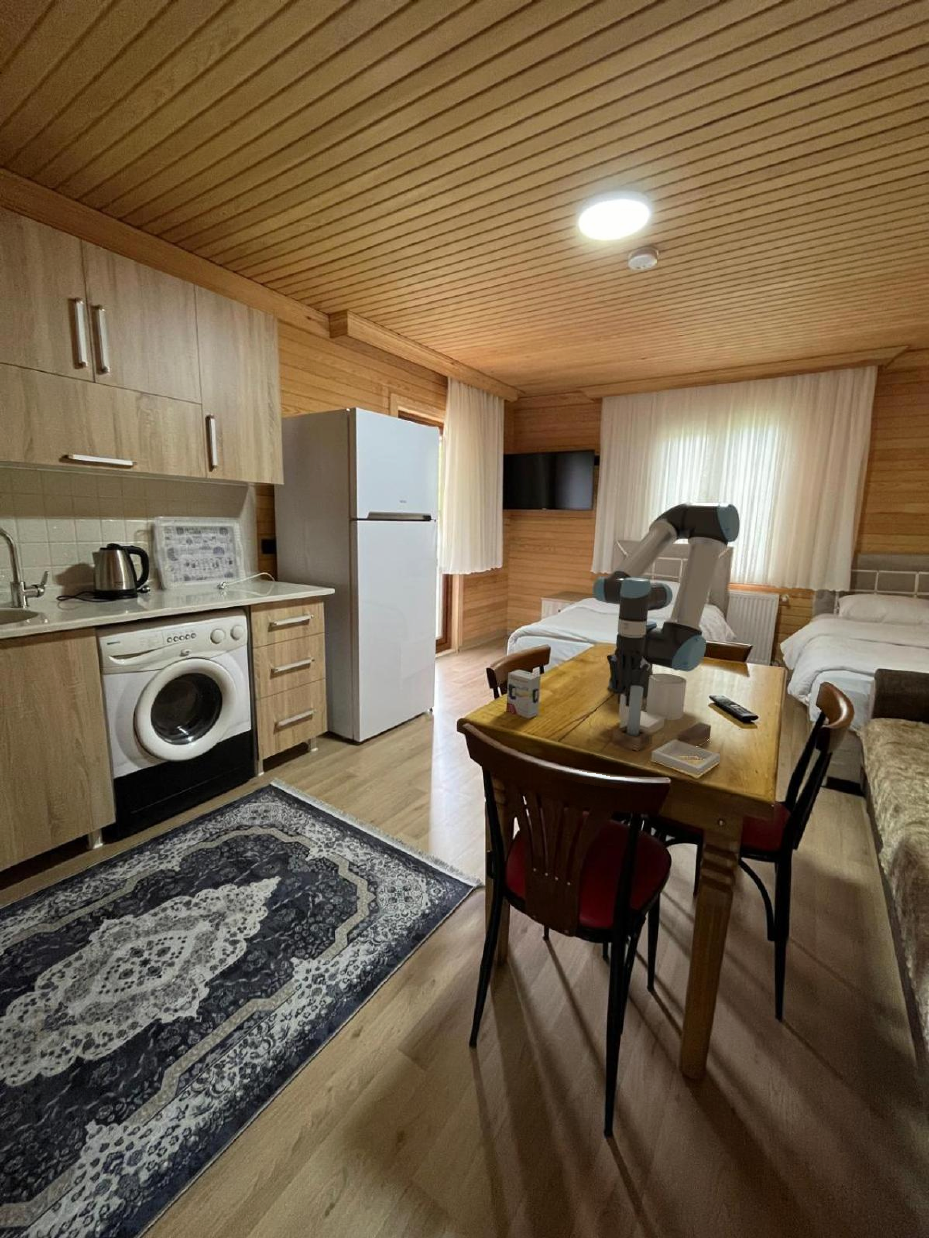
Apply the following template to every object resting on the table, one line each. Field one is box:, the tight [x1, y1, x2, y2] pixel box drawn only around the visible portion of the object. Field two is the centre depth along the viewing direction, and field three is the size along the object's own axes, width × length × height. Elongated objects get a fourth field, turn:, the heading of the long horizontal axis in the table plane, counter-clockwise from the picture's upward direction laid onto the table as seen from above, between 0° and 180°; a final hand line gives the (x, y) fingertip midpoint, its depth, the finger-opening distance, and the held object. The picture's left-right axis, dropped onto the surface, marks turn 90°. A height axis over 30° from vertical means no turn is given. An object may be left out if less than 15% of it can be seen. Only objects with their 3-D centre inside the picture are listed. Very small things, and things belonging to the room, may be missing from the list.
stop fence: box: [677, 722, 712, 747], centre depth 137 cm, size 3×12×4 cm, turn 132°
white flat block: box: [619, 710, 665, 734], centre depth 148 cm, size 8×10×3 cm
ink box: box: [505, 669, 541, 719], centre depth 155 cm, size 9×5×12 cm, turn 47°
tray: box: [650, 738, 721, 775], centre depth 127 cm, size 11×11×2 cm
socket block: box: [611, 725, 653, 752], centre depth 137 cm, size 7×7×3 cm
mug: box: [645, 673, 687, 721], centre depth 156 cm, size 14×10×11 cm
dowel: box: [627, 685, 644, 737], centre depth 135 cm, size 3×3×15 cm
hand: (623, 715), depth 151 cm, fingers closed
